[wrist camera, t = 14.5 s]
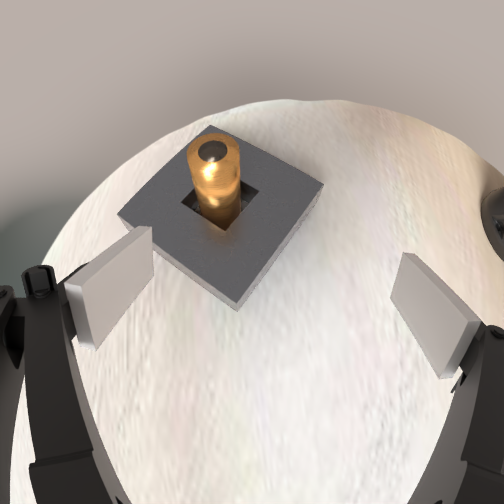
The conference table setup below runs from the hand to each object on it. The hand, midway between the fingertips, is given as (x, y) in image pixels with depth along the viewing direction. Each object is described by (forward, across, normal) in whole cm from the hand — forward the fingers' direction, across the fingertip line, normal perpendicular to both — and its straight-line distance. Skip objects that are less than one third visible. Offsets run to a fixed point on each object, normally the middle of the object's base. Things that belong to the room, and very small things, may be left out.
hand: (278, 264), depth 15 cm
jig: (+23, -6, -4) cm, 24 cm away
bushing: (+23, -6, -4) cm, 24 cm away
